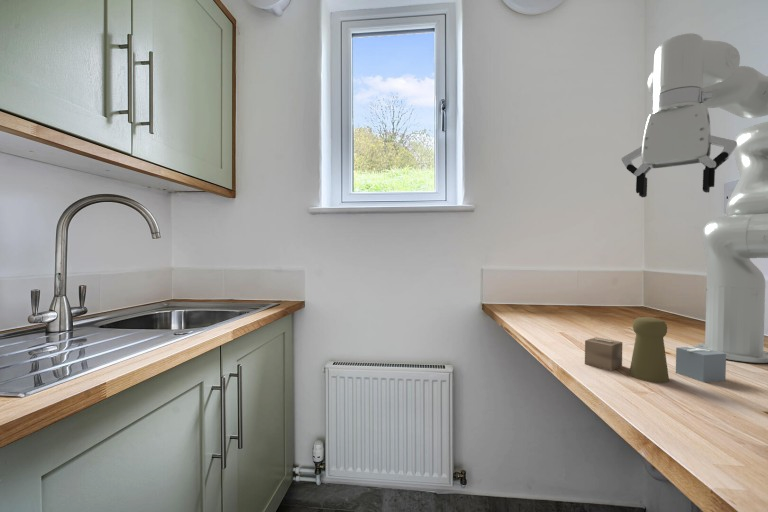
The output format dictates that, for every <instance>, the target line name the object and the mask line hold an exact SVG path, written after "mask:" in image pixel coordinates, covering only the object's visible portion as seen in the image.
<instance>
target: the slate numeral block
mask: <svg viewBox="0 0 768 512" xmlns="http://www.w3.org/2000/svg"><path fill="white" fill-rule="evenodd" d="M675 351H676V352H675V374H678V375H680V376H684V377H687V378H690V379H692V380H696V381H698V382H701V383H713V381H714V382H725V381H726V379H727V378H726V376H727V375H726V374H727V372H726V369H727V366H726V365H727V359H726V354H725V353H721V352H718V351H714V350H710V349H706V348H702V347H698V346H696V345H695V346H681V347H676V349H675Z"/></svg>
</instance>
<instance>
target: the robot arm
mask: <svg viewBox="0 0 768 512" xmlns="http://www.w3.org/2000/svg"><path fill="white" fill-rule="evenodd" d="M653 56H654V57H653V70H652V71H651V72H650V73H649V76H648V79H647V88H648V89H647V91H648V92H649V94H650V96H651V97H652V102H651V103H652V106H651V114H649V115H648V116H647V120H646V123H645V126H644V127H645V128H644V133H643V139H642V145H641V146H640V147H638V148H637V149H634V150H633V151H631V152H630V153H628V154H626V155H624V156H623V157H621V163H623V165H624V167H625V168H626V170H628V171H629V172H630V173H631V174H632V175H634V176H635V177H636V179H635V180H636V181H635V182H636V183H635V191H636V192H635V193H636V194H638V196H639V197H640V198H646V197H647V196H648V177H646V175H647V174H648V173H649V171H651V170H652V169H662V168H671V167H678V166H679V167H680V166H687V165H695V164H702V165H703V166H704V167H705V168H704V169H702V171H703V172H702V192H704V193H706V194H707V193H708V194H709V193H710V190H711V189H710V188H714V187H715V182H716V181H715V179H716V178H715V176H716V171H717V169H718V168H719V167H720V166H721V165H723V164H724V163H725V162H726V161H728V160H729V158H730V156H731V154H732V153H733V156H734V159H735V163H736V167H737V169H738V173H739V175H740V177H739V179H738V182H737V183H736V185H735V187H734V189H733V191H732V192H731V194H730V196H729V198H728V201H727V202H726V208H725V214H726V215H724V216H719V217H715V218H713V219H711V220H710V221H708V222H707V223H706V224H705V225H704V226H703V228H702V233H701V234H702V235H701V237H702V239H701V240H702V245H703V250H704V255H705V262H706V264H705V265H706V292H705V293H706V294H705V295H706V296H705V329H704V330H705V332H704V333H705V336H704V337H705V339H704V340H705V341H704V342H700V343H697V344H696V345H695V347H696V346H698V347H702V348H706V349H710V350H714V351H718V352H721V353H725V354H726V360H729V361H734V362H735V361H736V362H744V363H755V364H756V363H757V364H767V363H768V352H767V351H765V350H764V349H765V348H764V345H765V344H764V343H765V308H766V307H765V306H766V278H765V276H764V273H763V272H762V271H761V270H760V268H759V267H757V265H756V264H755V263H754V262H752V260H751V259H763V258H764V259H768V121H764V122H760V123H757V124H754V125H750V126H749V127H746V128H744V129H743V130H741V131H739V133H737V135H736V136H735V137H734V139H733V140H732V139H729V138H725V137H720V136H715V135H711V120H710V114H709V109H715V108H716V109H717V108H720V109H722V110H724V111H726V112H728V113H730V114H732V115H735V116H737V117H739V118H742V119H756V118H761V117H766V116H768V76H766V75H765V74H763V73H762V72H760V71H759V70H757V69H756V68H753V67H751V66H746V65H740V64H741V57H740V56H741V55H740V52H739V50H738V49H737V48H736V47H735V46H734V45H733V44H730V43H728V42H726V41H720V40H709V39H704V38H703V36H702V35H701V34H697V33H694V32H693V33H681V34H678V35H675V36H672V37H670V38H668V39H666V40H664V41H663V42H662V43H660V44H659V45H658V47H656V49H655V52H654V55H653ZM712 145H713V146H718V147H721V148H723V149H722V151H721V152H720V153H719V154H718V155H717V156H715V157H714V158H713V159H712V158H711V157H710V156H711V151H712V150H711V149H712V147H711V146H712ZM640 156H641V162H642V163H641V165H640V166H639V167H636V166H635V165H634V163H633V161H634V160H635V159H637V158H639V157H640Z"/></svg>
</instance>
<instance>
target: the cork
mask: <svg viewBox="0 0 768 512" xmlns="http://www.w3.org/2000/svg"><path fill="white" fill-rule="evenodd" d="M632 329H633V332H634V333H635V339H634V345H633V350H632V351H633V352H632V355H631V361H630V366H629V367H630V368H629V371H628V372H629V376H631V377H633V378H635V379H638V380H641V381H645V382H649V383H657V384H661V383H662V384H663V383H668V382H669V381H670V377H669V370H668V362H667V356H666V355H667V354H666V348H665V341H664V340H665V339H664V337H665V336H666V335H667V332H668V325H667V323H666V321H664V320H662V319H660V318H656V317H650V316H649V317H647V316H644V317H643V316H642V317H637V318H634V320H633V323H632Z"/></svg>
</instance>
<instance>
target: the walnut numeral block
mask: <svg viewBox="0 0 768 512" xmlns="http://www.w3.org/2000/svg"><path fill="white" fill-rule="evenodd" d="M584 365H587V366H590V367H595V368H598V369H603V370H606V371H610V372H612V371H614V370H616V369H619V368H620V367H623V341H618V340H612V339H610V338H609V339H608V338H602V337H597V336H595V337H593V338H590V339H585V340H584Z"/></svg>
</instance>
